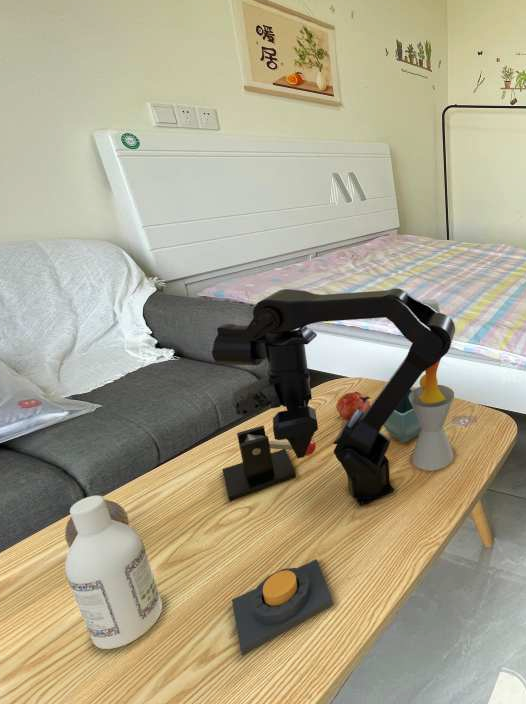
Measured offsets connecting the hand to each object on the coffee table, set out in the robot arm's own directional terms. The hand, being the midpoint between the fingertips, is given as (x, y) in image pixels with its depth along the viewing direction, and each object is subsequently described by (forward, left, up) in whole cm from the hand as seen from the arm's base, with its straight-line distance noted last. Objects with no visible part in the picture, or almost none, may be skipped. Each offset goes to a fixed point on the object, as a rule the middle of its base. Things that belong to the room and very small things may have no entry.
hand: (299, 442), depth 78 cm
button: (+8, +22, -8) cm, 25 cm away
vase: (+28, -5, -11) cm, 31 cm away
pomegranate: (-15, -18, -11) cm, 25 cm away
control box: (+8, +22, -10) cm, 26 cm away
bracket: (+6, -9, -10) cm, 15 cm away
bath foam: (+25, +13, -11) cm, 30 cm away
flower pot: (-23, -5, -11) cm, 25 cm away
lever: (+3, -9, -7) cm, 11 cm away
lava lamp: (-24, +5, -11) cm, 27 cm away
